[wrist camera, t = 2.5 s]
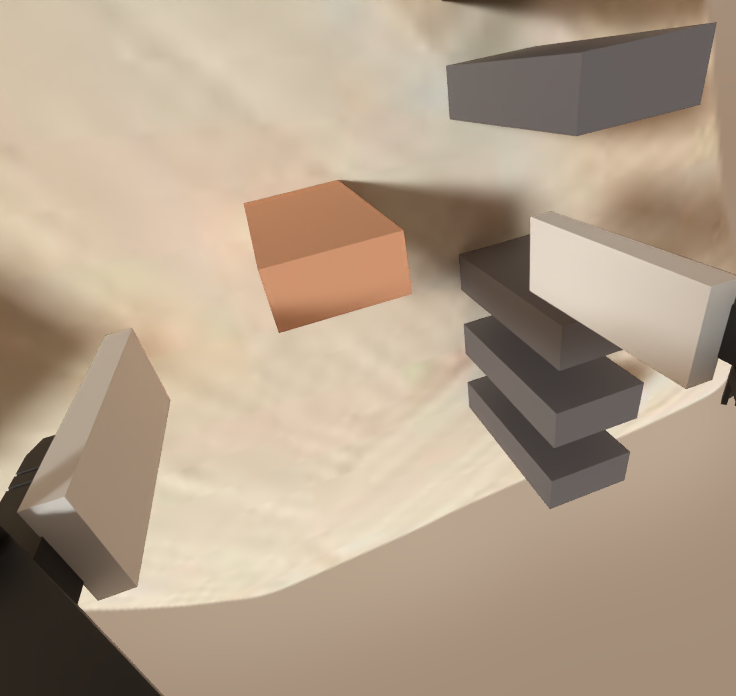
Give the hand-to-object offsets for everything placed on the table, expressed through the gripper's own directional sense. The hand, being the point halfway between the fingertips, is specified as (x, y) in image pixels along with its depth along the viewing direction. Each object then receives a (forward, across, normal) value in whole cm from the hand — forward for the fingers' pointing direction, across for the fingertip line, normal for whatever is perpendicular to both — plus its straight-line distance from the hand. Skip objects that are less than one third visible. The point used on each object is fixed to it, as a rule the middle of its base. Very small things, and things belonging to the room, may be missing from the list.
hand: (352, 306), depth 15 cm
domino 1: (+11, 0, +1) cm, 11 cm away
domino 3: (+11, +11, -5) cm, 17 cm away
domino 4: (+11, +11, -10) cm, 19 cm away
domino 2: (+11, +11, +5) cm, 17 cm away
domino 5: (+12, +11, -15) cm, 22 cm away
